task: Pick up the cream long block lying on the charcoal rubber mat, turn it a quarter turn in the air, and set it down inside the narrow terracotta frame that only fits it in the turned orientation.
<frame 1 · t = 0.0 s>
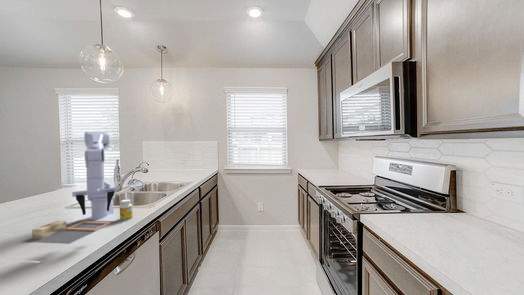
hand: (96, 212, 91), 11 cm above the worktop, tool pointing down, fingers open, 7 cm apart
cream long block: (50, 233, 96), resting on rubber mat
supplement bottle: (126, 219, 114), on the worktop
terracotta frame: (88, 227, 103), resting on rubber mat
rubber mat: (75, 231, 99), on the worktop
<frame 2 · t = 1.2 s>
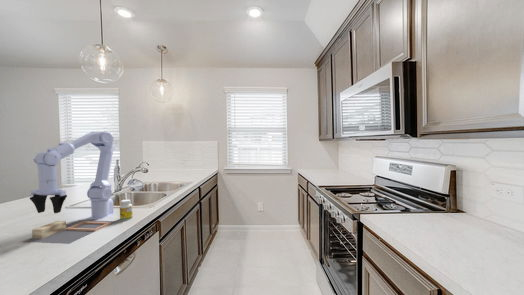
hand: (49, 212, 96), 9 cm above the worktop, tool pointing down, fingers open, 7 cm apart
nothing on the worktop moved.
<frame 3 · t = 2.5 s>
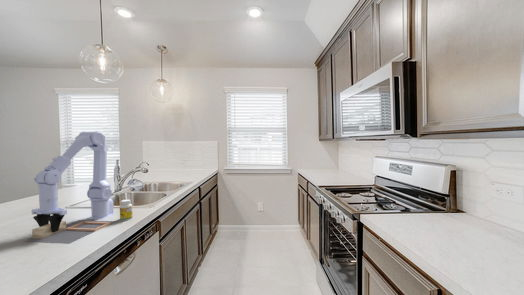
hand: (50, 231, 96), 1 cm above the worktop, tool pointing down, fingers closed on cream long block, 4 cm apart
cream long block: (50, 233, 96), resting on rubber mat, touching gripper
everything else where it was.
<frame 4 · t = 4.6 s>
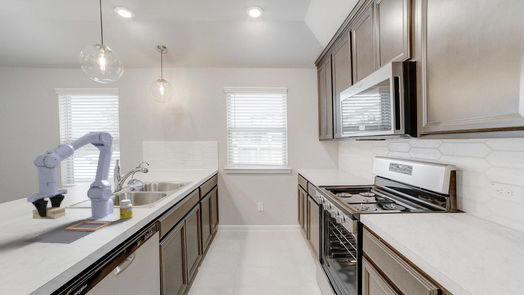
hand: (49, 214, 96), 8 cm above the worktop, tool pointing down, fingers closed on cream long block, 4 cm apart
cream long block: (49, 217, 96), point 7 cm above the worktop, touching gripper
everything else where it was.
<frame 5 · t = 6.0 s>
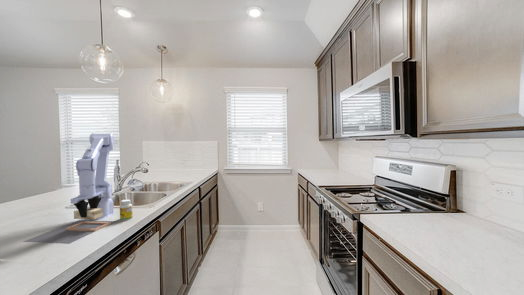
hand: (88, 215, 103), 6 cm above the worktop, tool pointing down, fingers closed on cream long block, 4 cm apart
cream long block: (88, 217, 103), point 5 cm above the worktop, touching gripper
everything else where it was.
when the fingers open (3 cm above the worktop, at t = 6.9 s): cream long block drops 1 cm, resting on rubber mat.
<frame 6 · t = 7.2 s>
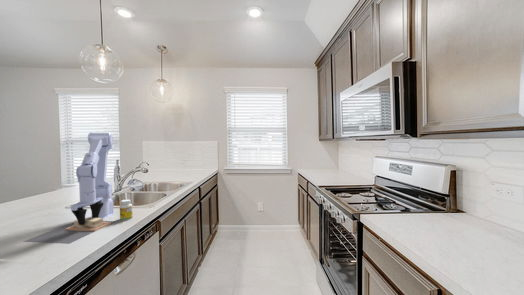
hand: (88, 221, 103), 3 cm above the worktop, tool pointing down, fingers open, 6 cm apart
cream long block: (89, 227, 103), resting on rubber mat
everything else where it was.
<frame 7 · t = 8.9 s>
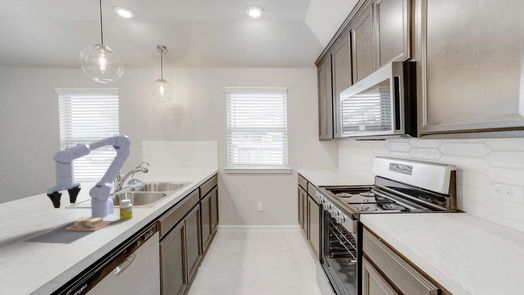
hand: (65, 205, 106), 9 cm above the worktop, tool pointing down, fingers open, 7 cm apart
nothing on the worktop moved.
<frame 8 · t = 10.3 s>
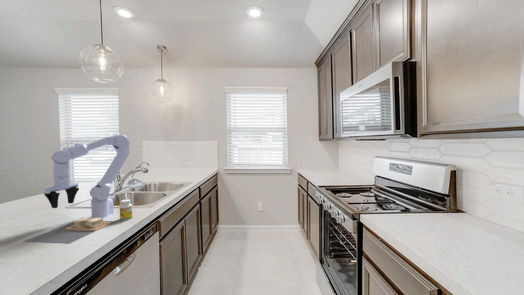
hand: (63, 205, 107), 9 cm above the worktop, tool pointing down, fingers open, 7 cm apart
nothing on the worktop moved.
at the end: cream long block 0.0 cm off-centre on the terracotta frame, point 0.0 cm above the terracotta frame's base; cream long block tilted 0°; the gripper is holding nothing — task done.
